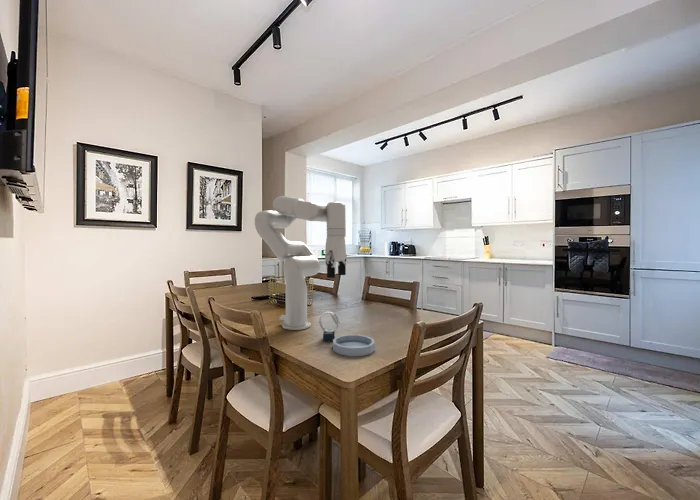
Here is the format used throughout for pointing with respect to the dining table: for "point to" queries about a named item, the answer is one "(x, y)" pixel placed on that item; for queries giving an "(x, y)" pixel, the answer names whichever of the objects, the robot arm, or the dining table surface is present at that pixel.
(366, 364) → the dining table surface
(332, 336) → the watch
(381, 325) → the dining table surface
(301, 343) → the dining table surface
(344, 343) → the dish
